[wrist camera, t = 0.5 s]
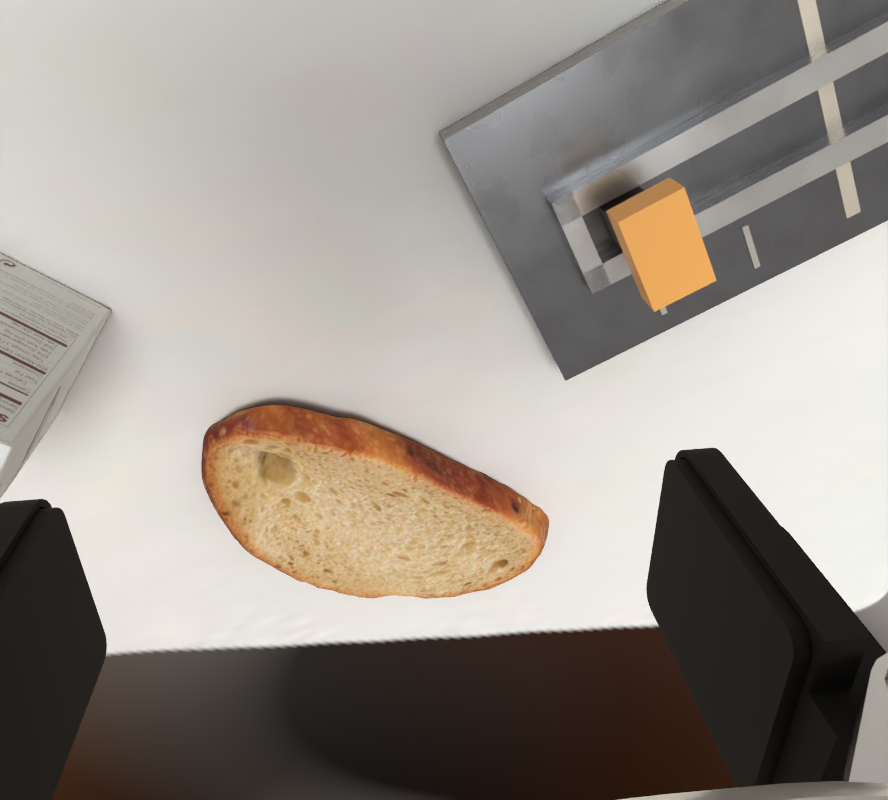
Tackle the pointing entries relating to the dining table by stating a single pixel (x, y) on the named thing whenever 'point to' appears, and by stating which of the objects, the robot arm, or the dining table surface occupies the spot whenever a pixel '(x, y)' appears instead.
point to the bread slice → (364, 507)
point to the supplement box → (37, 356)
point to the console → (683, 157)
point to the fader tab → (660, 242)
